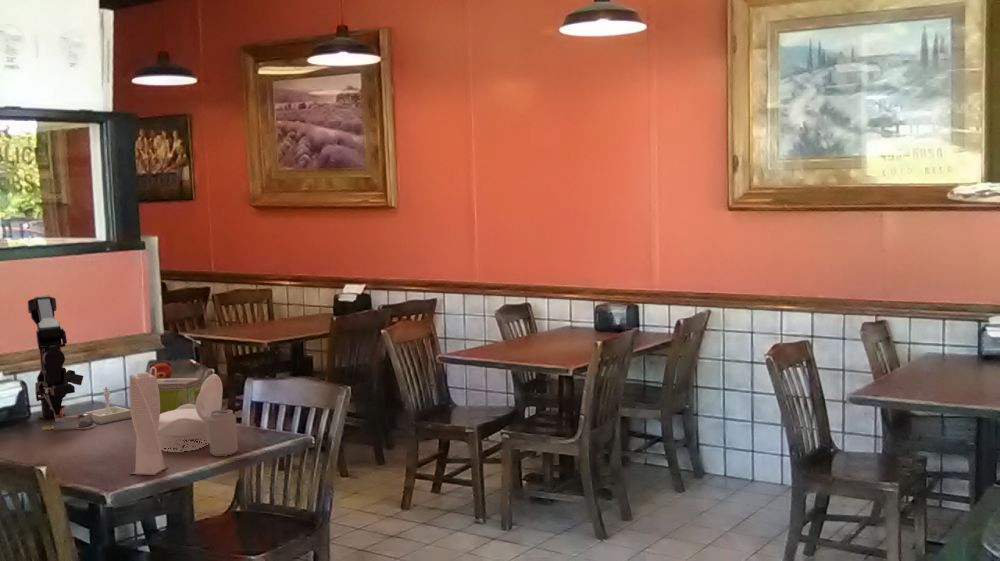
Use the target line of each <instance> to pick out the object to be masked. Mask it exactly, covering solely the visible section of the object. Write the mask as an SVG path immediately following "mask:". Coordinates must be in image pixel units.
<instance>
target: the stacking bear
mask: <svg viewBox="0 0 1000 561" xmlns="http://www.w3.org/2000/svg"><path fill="white" fill-rule="evenodd" d="M151 367H155V368H156V369H157V374H156V377H157V379H169V378H172V374H173V371H172V368H171V367H172V364H171V362H165V363H163V362H159V363H156V364H155V363H151V364H150V365H149V369H151ZM151 375H153V376H155V369H154V368H153V369H152V374H151Z"/></svg>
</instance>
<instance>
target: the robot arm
mask: <svg viewBox="0 0 1000 561" xmlns="http://www.w3.org/2000/svg"><path fill="white" fill-rule="evenodd" d="M56 311H57V300H56V298H55V297H52V296H51V295H49V294H48V295H38V296H35V297H34V298H32V299H30V300H29V299H28V300H27V312H28V314H30V318H31V320H32V321H33V323H34V324H35V325H36V329H37V330H35V333H36V334H35V335H36V336H35V337H36V343H37V348H38V350H39V360H40V361H39V362H40V371H39V373H38V375H37V377H36V382H35V384H34V386H35V391H34V392H35V399H36V401H37V402H39V401H40V404H41V414H38V415H37V417H38V418H41V419H44V420H49V419H50V420H51V419H55V418H54V413H55V415H59V414H60V409H61V405H63V404H62V403H63V399H65V398H66V397H67V395H68V394H74V393H76V390H75V386H74V385H77V386H82V384H83V379H84V375H82V374H77V373H76V371H75V370H70V369H68V370H67V368H66V367H64V364H65V361H66V355H65V354H64V352H62V349H61V348H63V347H66V344H68V339H67V333H66V331H65V330H64V328H63V327H61V324H60V321H58V320H56V319H55V312H56ZM50 407H51V408H52V409H50ZM62 414H63V416H66V414H65V413H62Z"/></svg>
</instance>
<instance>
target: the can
mask: <svg viewBox="0 0 1000 561" xmlns="http://www.w3.org/2000/svg"><path fill="white" fill-rule="evenodd" d="M233 412H234V411H233V410H232V409H221V410H217V411H213V412H211V413H210V417H209V418H208V429H209V453H210V454H211V455H213V456H214V455H216V456H215V457H217V456H224V457H228V456H227V455H230V456H233V455H235V454H236V452H237V451H238V450H239V446H238V445H239V444H238V443H239V442H238V430H237V429H238V428H237V416H236V415H235V414H234V413H233ZM234 453H235V454H234ZM232 454H233V455H232Z"/></svg>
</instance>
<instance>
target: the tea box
mask: <svg viewBox="0 0 1000 561" xmlns="http://www.w3.org/2000/svg"><path fill="white" fill-rule="evenodd" d="M157 382H158V389H159V396H160V414H162V413H165V412H168V411H172V410H175V409H177V408H178V407H180V406H182V405H185V404H193V405H195V404H196V399H197V397H198V395H199V393H200V390H201V386H202V384H203V383H202V377H183V378H181V377H179V378H178V377H177V378H173V377H171V378H169V379H157ZM200 401H202V400H200ZM202 404H203V403H202ZM202 406H204V405H202ZM184 408H185V407H184ZM187 409H188V408H187ZM193 409H194V408H193Z"/></svg>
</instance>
